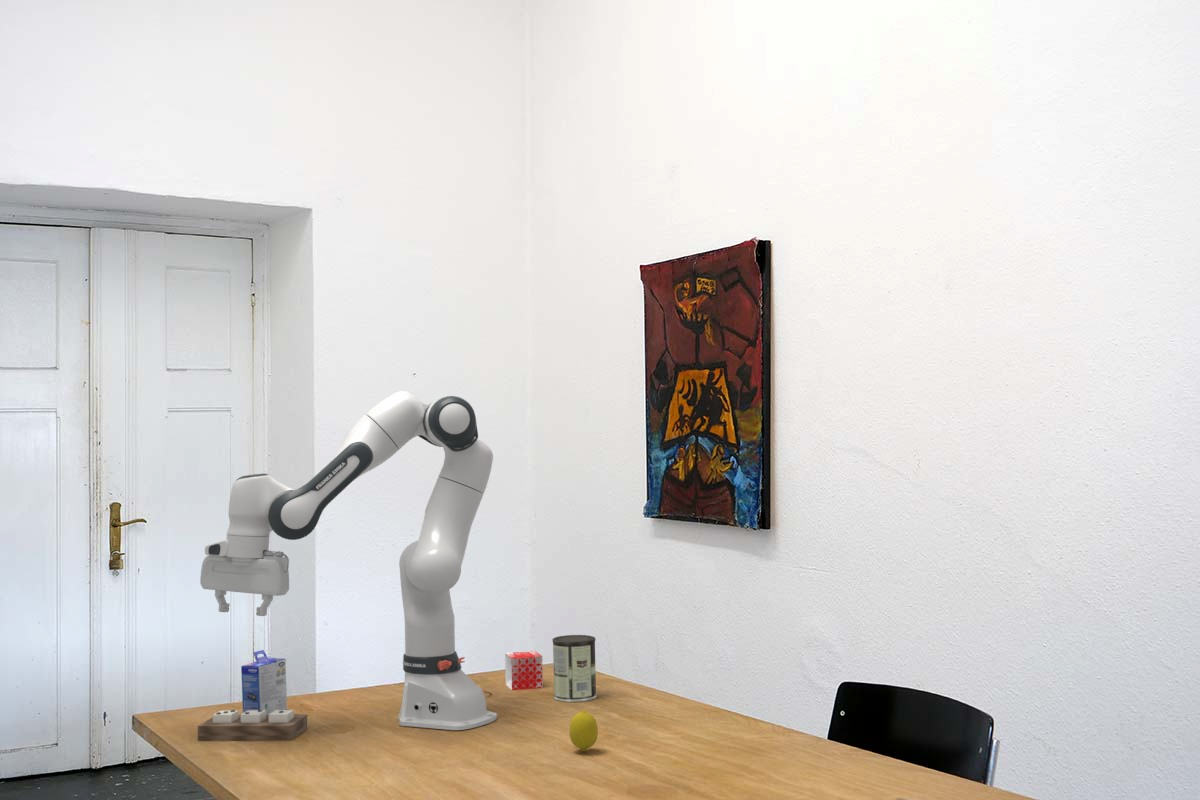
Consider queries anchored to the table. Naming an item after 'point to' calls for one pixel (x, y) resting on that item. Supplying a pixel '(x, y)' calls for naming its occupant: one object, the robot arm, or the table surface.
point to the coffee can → (574, 668)
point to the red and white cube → (524, 670)
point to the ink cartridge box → (264, 684)
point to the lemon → (583, 730)
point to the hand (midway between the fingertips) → (242, 613)
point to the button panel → (252, 730)
